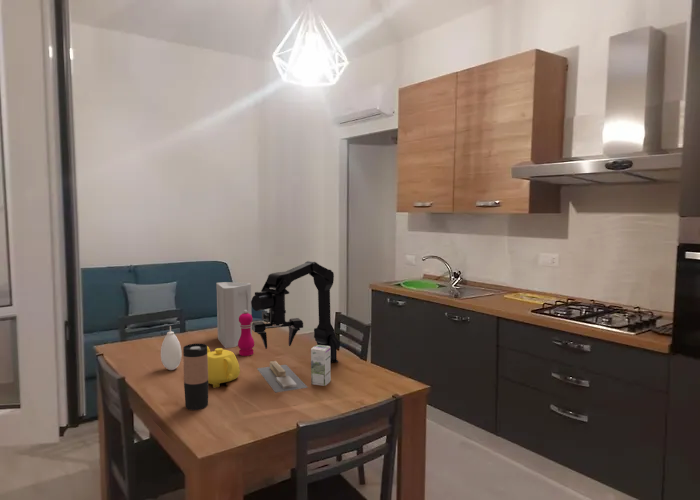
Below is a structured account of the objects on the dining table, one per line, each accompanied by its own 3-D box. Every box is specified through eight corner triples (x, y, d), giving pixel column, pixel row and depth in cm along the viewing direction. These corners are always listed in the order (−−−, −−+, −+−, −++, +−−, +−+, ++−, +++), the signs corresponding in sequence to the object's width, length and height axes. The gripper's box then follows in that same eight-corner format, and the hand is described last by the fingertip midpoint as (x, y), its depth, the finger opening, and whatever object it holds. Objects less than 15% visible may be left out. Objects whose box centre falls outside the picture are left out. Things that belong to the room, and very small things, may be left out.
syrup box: (331, 383, 183) (331, 345, 182) (325, 389, 178) (325, 349, 176) (317, 382, 185) (316, 344, 184) (310, 387, 180) (310, 348, 178)
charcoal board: (286, 367, 202) (285, 364, 202) (308, 390, 176) (308, 387, 176) (256, 371, 197) (256, 368, 197) (275, 395, 172) (275, 392, 171)
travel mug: (187, 401, 166) (186, 343, 165) (211, 400, 167) (209, 343, 165) (182, 410, 159) (180, 350, 157) (206, 410, 160) (204, 349, 158)
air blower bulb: (185, 369, 200) (184, 325, 198) (167, 374, 194) (165, 329, 192) (176, 365, 205) (174, 322, 203) (157, 369, 199) (156, 325, 198)
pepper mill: (250, 356, 216) (249, 311, 214) (235, 355, 218) (234, 311, 216) (257, 352, 223) (256, 308, 221) (242, 351, 225) (241, 307, 223)
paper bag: (256, 344, 236) (255, 286, 233) (224, 348, 230) (223, 288, 227) (246, 334, 253) (245, 280, 251) (217, 338, 247) (216, 282, 244)
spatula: (278, 367, 199) (278, 360, 198) (297, 387, 177) (296, 379, 176) (266, 368, 197) (266, 361, 196) (283, 389, 175) (283, 381, 174)
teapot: (214, 393, 174) (213, 357, 173) (188, 378, 189) (187, 346, 188) (247, 383, 184) (247, 350, 182) (221, 370, 198) (220, 339, 197)
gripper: (294, 301, 198) (295, 339, 199) (248, 304, 190) (248, 344, 192) (303, 306, 188) (303, 346, 189) (254, 310, 180) (255, 352, 182)
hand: (277, 347), depth 188 cm, fingers open, 9 cm apart
